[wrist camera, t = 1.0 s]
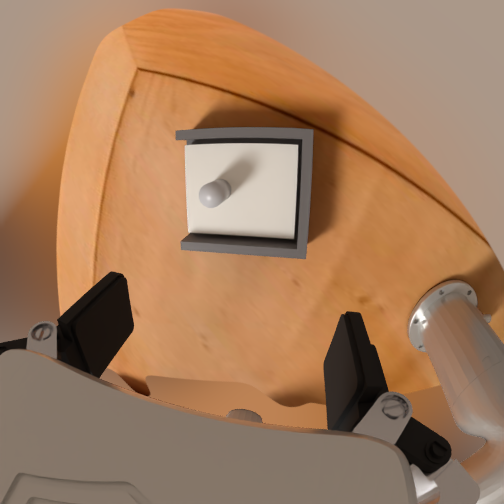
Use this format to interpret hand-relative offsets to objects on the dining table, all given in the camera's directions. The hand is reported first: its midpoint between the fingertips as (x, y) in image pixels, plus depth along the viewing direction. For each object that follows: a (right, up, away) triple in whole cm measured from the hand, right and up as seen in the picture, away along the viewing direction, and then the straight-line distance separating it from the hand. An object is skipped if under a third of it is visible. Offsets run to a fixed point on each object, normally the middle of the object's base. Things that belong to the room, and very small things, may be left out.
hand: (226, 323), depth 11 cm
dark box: (0, +10, +19) cm, 22 cm away
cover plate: (0, +10, +19) cm, 21 cm away
